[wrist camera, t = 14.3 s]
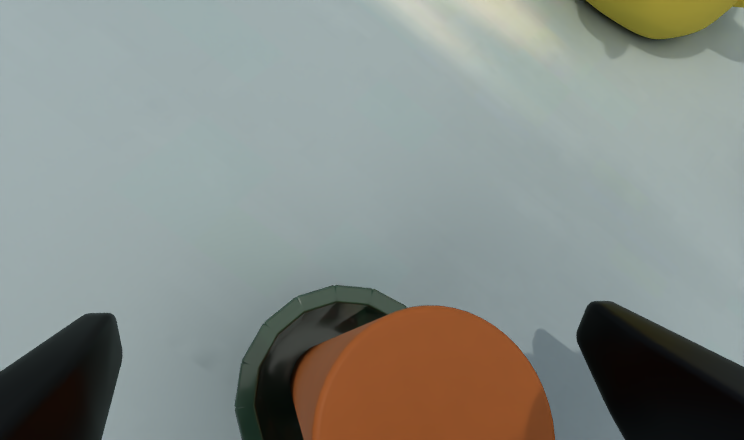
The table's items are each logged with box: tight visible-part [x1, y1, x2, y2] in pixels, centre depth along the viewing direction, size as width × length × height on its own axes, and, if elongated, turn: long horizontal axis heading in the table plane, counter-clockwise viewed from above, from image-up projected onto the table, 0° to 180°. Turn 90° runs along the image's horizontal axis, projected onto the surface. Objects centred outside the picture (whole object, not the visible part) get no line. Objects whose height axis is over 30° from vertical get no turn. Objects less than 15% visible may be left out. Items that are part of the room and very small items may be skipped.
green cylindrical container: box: [235, 285, 406, 440], centre depth 14 cm, size 6×6×6 cm
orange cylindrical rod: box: [290, 306, 555, 440], centre depth 11 cm, size 3×3×12 cm
